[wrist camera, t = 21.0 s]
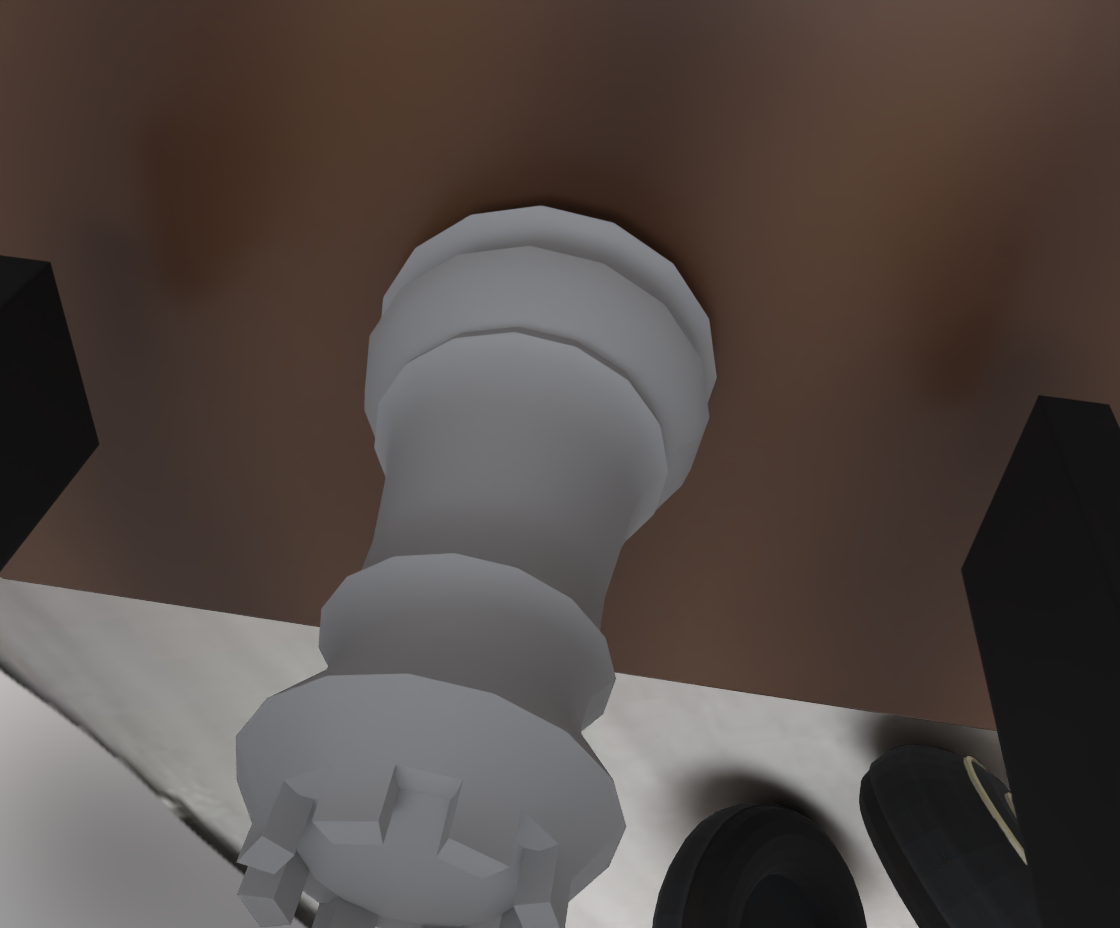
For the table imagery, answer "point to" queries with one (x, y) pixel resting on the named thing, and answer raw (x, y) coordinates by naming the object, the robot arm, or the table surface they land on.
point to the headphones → (898, 837)
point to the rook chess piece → (481, 585)
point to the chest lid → (603, 193)
